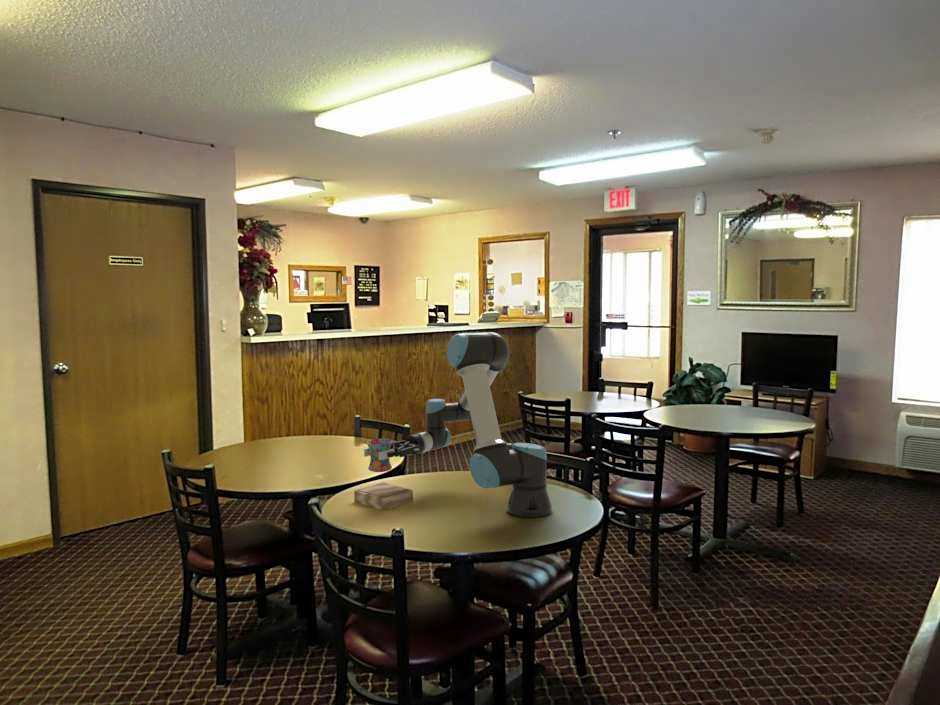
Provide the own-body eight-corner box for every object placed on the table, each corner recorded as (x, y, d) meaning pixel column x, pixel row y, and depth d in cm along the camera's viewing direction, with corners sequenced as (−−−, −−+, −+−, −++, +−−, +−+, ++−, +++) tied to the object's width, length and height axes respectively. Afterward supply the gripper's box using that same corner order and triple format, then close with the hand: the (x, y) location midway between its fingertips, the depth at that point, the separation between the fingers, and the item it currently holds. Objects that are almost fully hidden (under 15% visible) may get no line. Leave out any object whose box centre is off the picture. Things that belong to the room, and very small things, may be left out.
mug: (379, 475, 226) (378, 445, 225) (361, 470, 232) (361, 441, 231) (403, 468, 235) (403, 439, 234) (386, 464, 241) (385, 436, 240)
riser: (412, 500, 234) (412, 489, 234) (383, 510, 224) (383, 498, 223) (383, 492, 245) (383, 481, 244) (354, 501, 234) (354, 489, 234)
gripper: (437, 457, 240) (391, 469, 223) (400, 449, 253) (354, 460, 236) (437, 437, 239) (390, 448, 222) (400, 430, 253) (353, 440, 236)
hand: (371, 454), depth 229 cm, fingers closed on mug, 7 cm apart
